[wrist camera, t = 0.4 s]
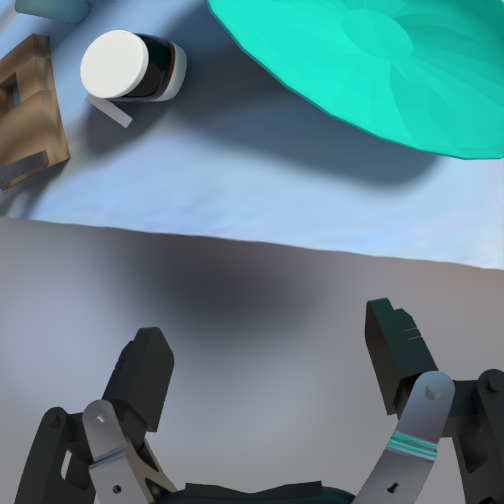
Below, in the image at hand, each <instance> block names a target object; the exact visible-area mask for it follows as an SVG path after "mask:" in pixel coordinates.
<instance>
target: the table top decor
mask: <svg viewBox="0 0 504 504" xmlns="http://www.w3.org/2000/svg"><path fill="white" fill-rule="evenodd" d="M205 1H206V4H207V6H208V9H209V11H210V13H211V14H212V16H213V17H214V18H215V19H216V20H217V21H218V22H219V24H220V25H221V26H222V27H223V28H224V30H225V31H226V32H227V33H228V34H229V36H230V37H231V38H232V39H233V40H234V42H235V43H236V44H237V45H238V47H239V48H240V49H241V50H242V51H243V52H244V53H245V54H247V55H248V56H249V57H250V58H252V59H253V60H254V61H255V62H256V63H258V64H259V65H260V66H261V67H262V68H264V69H265V70H266V71H267V72H268V73H269V74H271V75H272V76H273V77H274V78H275V79H276V80H278V81H279V82H280V83H281V84H282V85H283V86H284V87H286V88H287V89H289V90H291V91H292V92H294V93H295V94H297V95H299V96H300V97H302V98H303V99H305V100H306V101H308V102H309V103H311V104H313V105H314V106H316V107H317V108H318V109H320V110H321V111H323V112H324V113H326V114H327V115H329V116H330V117H333V118H335V119H337V120H340V121H342V122H344V123H346V124H349V125H351V126H353V127H355V128H357V129H359V130H361V131H364V132H366V133H368V134H370V135H372V136H374V137H376V138H378V139H382V140H385V141H389V142H392V143H395V144H398V145H402V146H405V147H408V148H411V149H414V150H417V151H420V152H425V153H431V154H437V155H442V156H448V157H453V158H458V159H463V160H476V159H501V158H504V2H503V1H502V0H205Z"/></svg>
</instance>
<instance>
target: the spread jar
mask: <svg viewBox="0 0 504 504" xmlns="http://www.w3.org/2000/svg"><path fill="white" fill-rule="evenodd" d="M186 67H187V57H186V53H185V51H184V50H183V49H182V48H181V47H179V46H178V45H176V44H174V43H173V42H171V41H169V40H166V39H164V38H160V37H157V36H153V35H148V34H141V33H130V32H127V31H123V30H115V31H110V32H107V33H105V34H103V35H101V36H100V37H98V38H97V39H96V40H95V41H94V42H93V43H92V44H91V45H90V46H89V47H88V49H87V50H86V52H85V54H84V56H83V59H82V62H81V67H80V77H81V81H82V84H83V86H84V88H85V89H86V90H87V92H89V95H88V96H87V97H86V99H85V100H87V101H88V102H89V103H91V104H92V105H94V106H95V107H97V108H98V109H99V110H101V111H102V112H104V113H105V114H107V115H108V116H109V117H111V118H112V119H114V120H115V121H117V122H118V123H119V124H121V125H122V126H124V127H125V128H127V126H128V125H129V124H130V122H131V121H132V120H133V119H132V118H131V117H130V116H128V115H127V114H126V113H124V112H123V111H122V110H120V109H119V108H118V107H116V106H115V105H114V104H112V103H111V102H109V101H108V100H113V101H123V102H143V101H165V100H169V99H172V98H173V97H175V95H176V94H177V93H178V91H179V90H180V88H181V86H182V83H183V80H184V77H185V73H186ZM106 99H108V100H106Z"/></svg>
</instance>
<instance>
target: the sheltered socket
mask: <svg viewBox="0 0 504 504" xmlns="http://www.w3.org/2000/svg"><path fill="white" fill-rule="evenodd" d="M16 82H17V84H18V92H19V98H20V104H18V105H17V106H16V107H15V106H14V100H13V93H12V85H13V84H15V83H16ZM68 158H71V157H70V153H69V149H68V145H67V141H66V137H65V133H64V129H63V125H62V120H61V116H60V111H59V106H58V101H57V96H56V90H55V84H54V78H53V71H52V64H51V56H50V46H49V36H44V35H37V34H32V35H30V36H29V37H28V38H26V39H25V40H24V41H22V42H21V43H20V44H19V45H17V46H16V47H15V48H14V49H13V50H11V51H10V52H9V53H8V54H7V55H5V56H4V57H3V58H2V59H1V60H0V189H1V188H2V191H3V190H5V189H7V188H9V187H11V186H13V185H15V184H17V183H19V182H21V181H22V180H24V179H26V178H28V177H30V176H32V175H34V174H36V173H38V172H40V171H42V170H44V169H46V168H49V167H51V166H53V165H55V164H57V163H59V162H62V161H64V160H66V159H68Z"/></svg>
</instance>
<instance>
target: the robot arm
mask: <svg viewBox="0 0 504 504" xmlns="http://www.w3.org/2000/svg"><path fill="white" fill-rule="evenodd" d="M365 340H366V345H367V348H368V351H369V354H370V357H371V360H372V364H373V367H374V370H375V373H376V376H377V380H378V383H379V387H380V390H381V393H382V397H383V400H384V404H385V408H386V411H387V415H392V414H396V413H397V417H398V420H399V422H398V424H397V426H396V428H395V430H394V432H393V434H392V436H391V438H390V440H389V442H388V444H387V446H386V447H385V450H384V451H383V453H382V455H381V457H380V458H379V460H378V462H377V464H376V465H375V467H374V469H373V471H372V472H371V474H370V476H369V477H368V479H367V480H366V482H365V484H364V485H363V487H362V488H361V490H360V491H359V493H358V494H357V496H355V495H353V494H351V493H349V492H346V491H344V490H341V489H338V488H332V487H325V486H322V484H321V481H316V482H307V483H298V484H287V485H283V486H280V487H276V488H272V489H268V490H265V491H261V492H257V493H244V492H240V491H236V490H232V489H228V488H224V487H221V486H217V485H203V484H192V483H186V487H185V489H184V490H180V491H178V490H177V488H176V487H175V486H174V484H173V483H172V482H171V481H170V480H169V479H168V478H167V476H166V475H165V474H164V472H163V470H162V469H161V467H160V465H159V463H158V461H157V459H156V457H155V456H154V454H153V452H152V450H151V448H150V446H149V444H148V442H147V440H146V439H145V438H144V437H145V434H146V431H148V432H157V428H158V424H159V420H160V416H161V413H162V409H163V405H164V401H165V397H166V394H167V390H168V386H169V382H170V378H171V375H172V371H173V368H174V356H173V353H172V350H171V349H170V347H169V345H168V343H167V341H166V339H165V338H164V335H163V334H162V332H161V330H160V329H159V328H158V327H151V328H140V329H139V330H138V332H137V334H136V337H135V339H134V341H130V342H129V343H128V344H127V345H126V347H125V348H124V349H123V350H122V352H121V355H120V357H119V359H118V362H117V363H116V366H115V370H113V373H112V375H111V377H110V380H109V382H108V385H107V387H106V389H105V392H104V394H103V397H102V399H101V400H96V401H93V402H92V403H90V404H89V405H88V406H87V407H86V409H85V410H84V412H82V413H76V414H68V413H67V412H66V411H65V410H64V409H63V408H61V407H54V408H51V409H49V410H48V411H47V412H46V413H45V414H44V416H43V418H42V421H41V423H40V426H39V428H38V431H37V433H36V436H35V439H34V441H33V444H32V447H31V450H30V453H29V456H28V458H27V461H26V464H25V468H24V471H23V474H22V477H21V481H20V484H19V488H18V491H17V495H16V499H15V503H14V504H94V500H95V494H96V493H97V495H98V498H99V500H100V503H101V504H414V503H415V501H416V500H417V498H418V496H419V494H420V492H421V490H422V488H423V486H424V484H425V482H426V480H427V477H428V475H429V473H430V471H431V469H432V466H433V464H434V462H435V459H436V456H437V451H436V448H437V445H438V442H439V439H440V438H441V437H452V439H453V443H454V448H455V451H456V456H457V460H458V464H459V469H460V473H461V479H462V483H463V489H464V495H465V502H466V504H504V372H502V371H500V370H497V369H490V370H487V371H485V372H483V373H482V374H481V375H480V377H479V379H478V380H470V381H468V380H467V381H455V380H452V379H451V378H450V377H449V376H448V375H447V374H445V373H443V372H440V371H439V370H438V368H437V366H436V364H435V362H434V360H433V358H432V356H431V354H430V352H429V350H428V348H427V346H426V344H425V342H424V340H423V338H422V337H421V334H420V332H419V330H418V329H417V326H416V324H415V322H414V321H413V319H412V317H411V316H410V315H409V314H408V313H407V312H405V311H404V310H403V309H402V308H401V309H397V310H394V309H393V307H392V305H391V303H390V301H389V300H388V298H381V299H376V300H371V301H368V302H367V306H366V321H365ZM67 450H68V451H69V452H70V453H72V456H71V459H70V462H69V466H68V469H67V473H66V477H65V480H64V479H63V478H62V475H61V468H62V464H63V461H64V458H65V454H66V451H67Z"/></svg>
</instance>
